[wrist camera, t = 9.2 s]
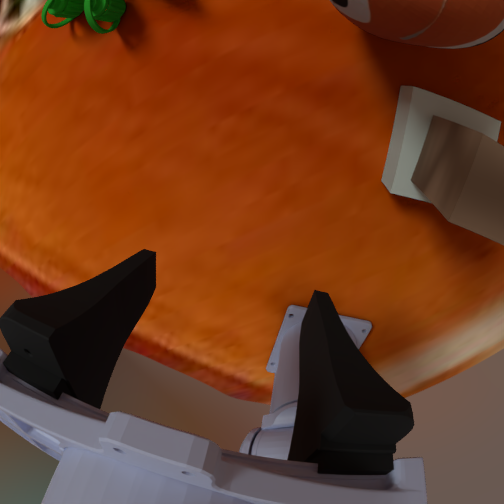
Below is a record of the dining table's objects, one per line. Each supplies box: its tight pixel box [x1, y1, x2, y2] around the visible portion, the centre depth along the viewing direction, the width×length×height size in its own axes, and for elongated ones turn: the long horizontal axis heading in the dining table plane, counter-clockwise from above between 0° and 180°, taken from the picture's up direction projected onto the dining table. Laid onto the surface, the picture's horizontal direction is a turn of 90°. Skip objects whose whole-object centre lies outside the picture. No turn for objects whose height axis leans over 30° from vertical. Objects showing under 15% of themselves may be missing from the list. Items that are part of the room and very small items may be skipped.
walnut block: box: [411, 115, 504, 245], centre depth 14 cm, size 4×4×6 cm
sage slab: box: [381, 86, 501, 203], centre depth 17 cm, size 7×7×3 cm
